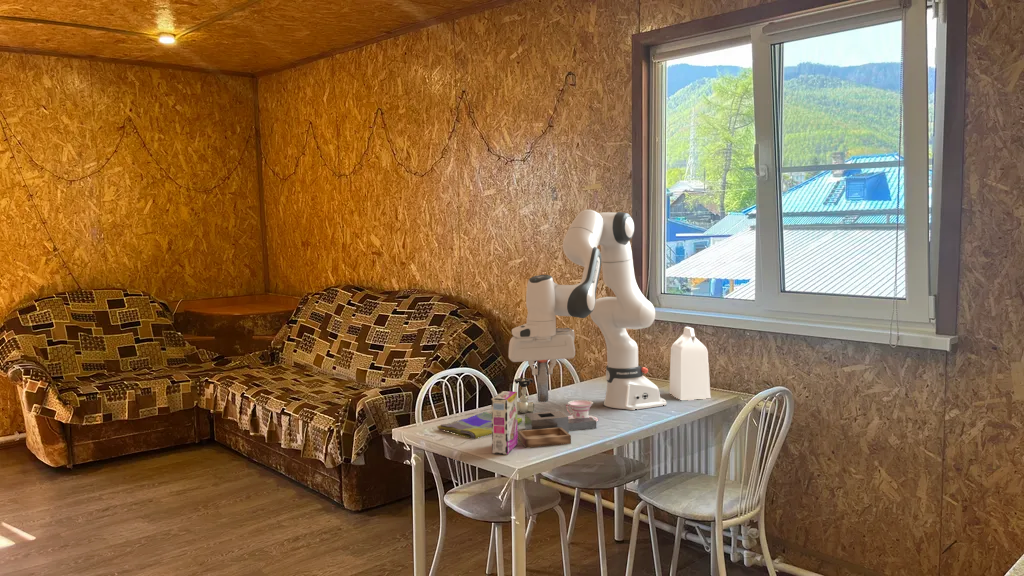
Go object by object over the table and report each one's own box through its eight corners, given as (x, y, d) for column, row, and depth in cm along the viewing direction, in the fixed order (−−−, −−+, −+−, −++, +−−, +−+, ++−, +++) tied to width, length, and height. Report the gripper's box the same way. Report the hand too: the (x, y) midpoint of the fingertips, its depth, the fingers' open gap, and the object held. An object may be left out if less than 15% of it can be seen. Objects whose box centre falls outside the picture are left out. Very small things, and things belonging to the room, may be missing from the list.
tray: (561, 435, 242) (561, 427, 242) (571, 443, 232) (570, 435, 232) (518, 439, 239) (517, 431, 239) (525, 447, 229) (525, 439, 229)
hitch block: (589, 422, 256) (589, 408, 255) (598, 429, 247) (598, 414, 246) (524, 428, 251) (524, 413, 250) (532, 435, 242) (531, 420, 241)
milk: (710, 399, 285) (710, 329, 283) (680, 400, 283) (680, 330, 281) (697, 392, 297) (697, 325, 295) (669, 394, 295) (668, 326, 293)
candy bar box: (508, 455, 222) (506, 399, 221) (491, 454, 224) (490, 398, 222) (519, 444, 233) (517, 390, 232) (503, 443, 234) (501, 390, 233)
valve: (532, 415, 268) (531, 381, 267) (513, 415, 269) (512, 381, 268) (535, 411, 274) (534, 377, 273) (517, 410, 276) (516, 377, 275)
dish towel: (525, 425, 257) (524, 417, 257) (472, 441, 239) (471, 432, 239) (488, 417, 269) (487, 409, 269) (434, 432, 251) (434, 424, 251)
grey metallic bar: (546, 399, 236) (545, 355, 235) (549, 401, 233) (548, 357, 232) (536, 400, 236) (535, 356, 235) (539, 402, 233) (538, 358, 231)
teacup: (600, 416, 264) (599, 399, 263) (596, 426, 252) (596, 407, 252) (565, 416, 266) (565, 398, 266) (560, 425, 255) (559, 406, 254)
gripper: (571, 326, 238) (572, 370, 239) (506, 329, 234) (507, 374, 235) (577, 328, 232) (578, 374, 233) (511, 332, 227) (512, 378, 229)
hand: (542, 374), depth 234 cm, fingers closed on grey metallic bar, 3 cm apart
